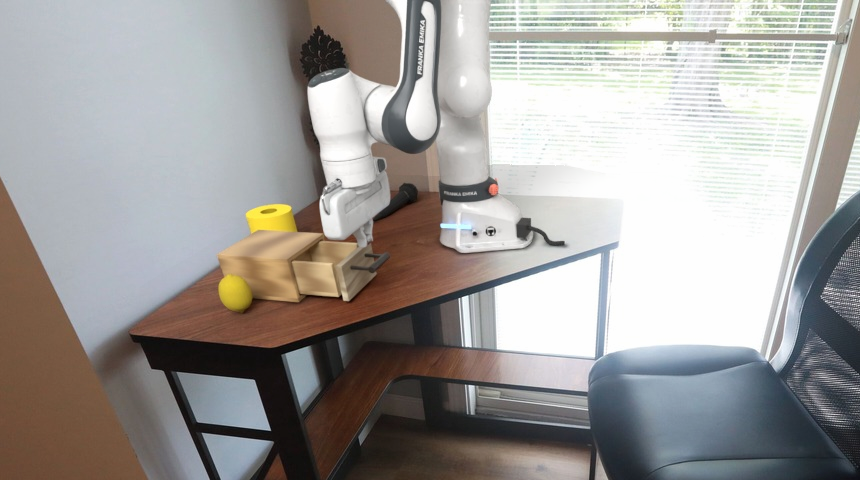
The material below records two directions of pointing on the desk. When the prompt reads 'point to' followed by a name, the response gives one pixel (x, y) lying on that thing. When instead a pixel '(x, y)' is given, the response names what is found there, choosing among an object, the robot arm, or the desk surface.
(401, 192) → the microphone
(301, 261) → the drawer
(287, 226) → the tape roll
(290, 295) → the cabinet
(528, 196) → the desk surface
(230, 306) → the lemon
